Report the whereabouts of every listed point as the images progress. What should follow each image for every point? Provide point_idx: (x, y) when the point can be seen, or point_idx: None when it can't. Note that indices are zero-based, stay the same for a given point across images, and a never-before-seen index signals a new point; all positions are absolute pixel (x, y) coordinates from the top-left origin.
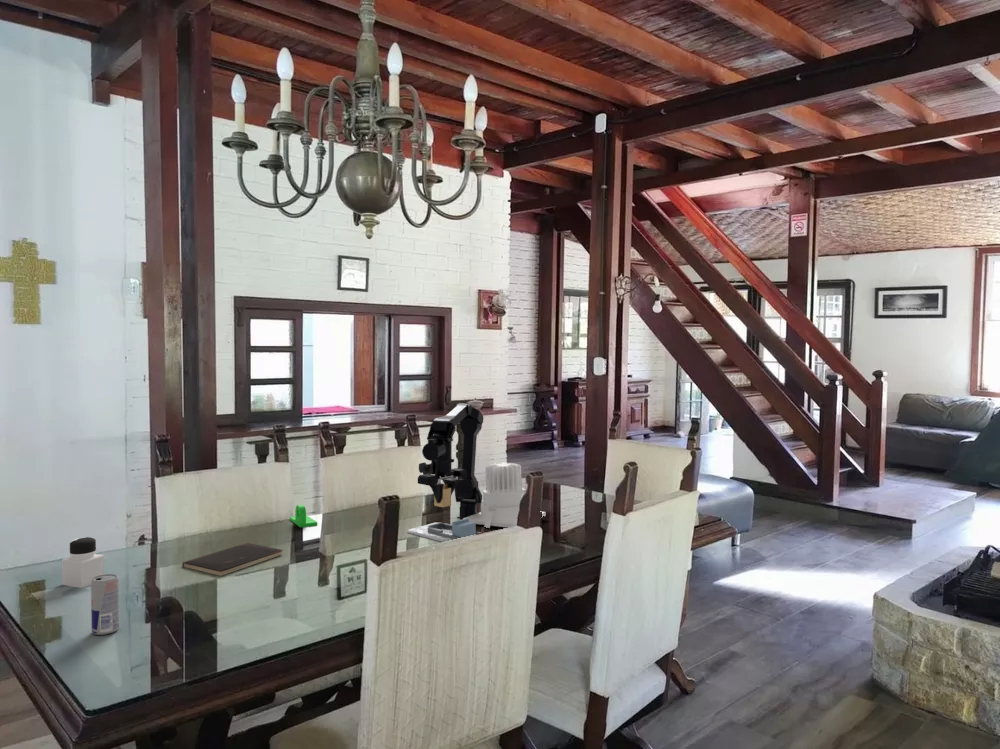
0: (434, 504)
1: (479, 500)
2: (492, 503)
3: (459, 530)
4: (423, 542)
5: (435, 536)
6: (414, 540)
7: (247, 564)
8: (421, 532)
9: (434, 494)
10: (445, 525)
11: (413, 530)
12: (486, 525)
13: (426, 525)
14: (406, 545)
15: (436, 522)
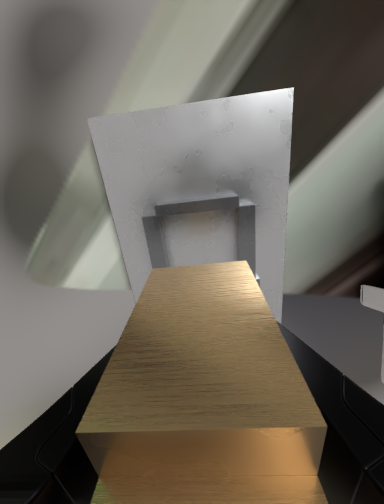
0: (151, 275)
1: None
2: None
3: None
4: (91, 269)
5: (134, 280)
6: (75, 231)
7: None
8: (120, 204)
9: (85, 383)
10: (238, 224)
11: (107, 151)
12: (373, 296)
13: (210, 110)
14: (27, 260)
15: (291, 92)
